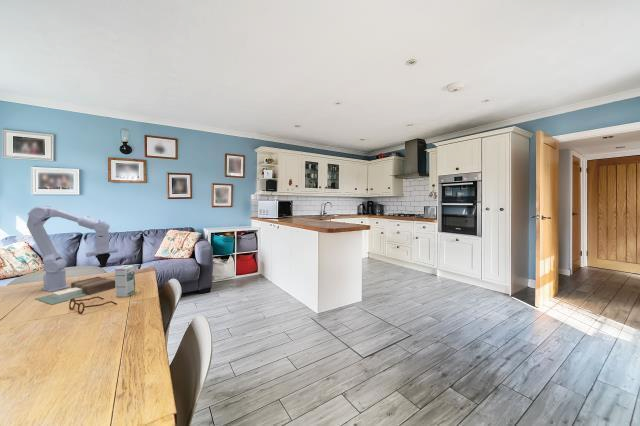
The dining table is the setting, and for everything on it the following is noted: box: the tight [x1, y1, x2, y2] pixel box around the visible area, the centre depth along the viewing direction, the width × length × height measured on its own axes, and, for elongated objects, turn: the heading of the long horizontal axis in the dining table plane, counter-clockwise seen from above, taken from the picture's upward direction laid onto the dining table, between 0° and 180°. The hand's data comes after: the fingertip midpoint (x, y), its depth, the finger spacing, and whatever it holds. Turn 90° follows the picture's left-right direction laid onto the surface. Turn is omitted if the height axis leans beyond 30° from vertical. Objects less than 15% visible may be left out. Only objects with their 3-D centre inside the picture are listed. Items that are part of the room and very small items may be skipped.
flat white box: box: [52, 287, 83, 299], centre depth 128 cm, size 6×9×2 cm, turn 157°
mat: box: [34, 293, 88, 306], centre depth 125 cm, size 16×13×1 cm
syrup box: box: [114, 264, 136, 298], centre depth 129 cm, size 6×6×14 cm
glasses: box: [68, 295, 118, 315], centre depth 115 cm, size 13×13×5 cm
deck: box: [70, 276, 116, 296], centre depth 137 cm, size 16×12×4 cm
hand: (103, 267), depth 146 cm, fingers closed
